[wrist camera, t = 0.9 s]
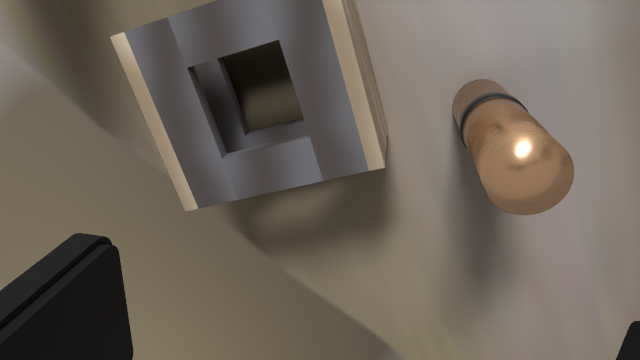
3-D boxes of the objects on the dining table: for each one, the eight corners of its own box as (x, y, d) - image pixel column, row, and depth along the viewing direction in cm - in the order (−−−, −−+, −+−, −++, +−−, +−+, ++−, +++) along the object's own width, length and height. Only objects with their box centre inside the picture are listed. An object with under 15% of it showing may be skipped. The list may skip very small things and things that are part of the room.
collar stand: (347, -33, 32) (330, -39, 25) (387, 128, 36) (385, 167, 29) (172, 25, 36) (109, 36, 28) (226, 167, 40) (185, 211, 32)
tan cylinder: (505, 71, 33) (571, 124, 21) (513, 126, 35) (580, 207, 22) (446, 86, 35) (474, 145, 22) (456, 139, 36) (489, 224, 23)
